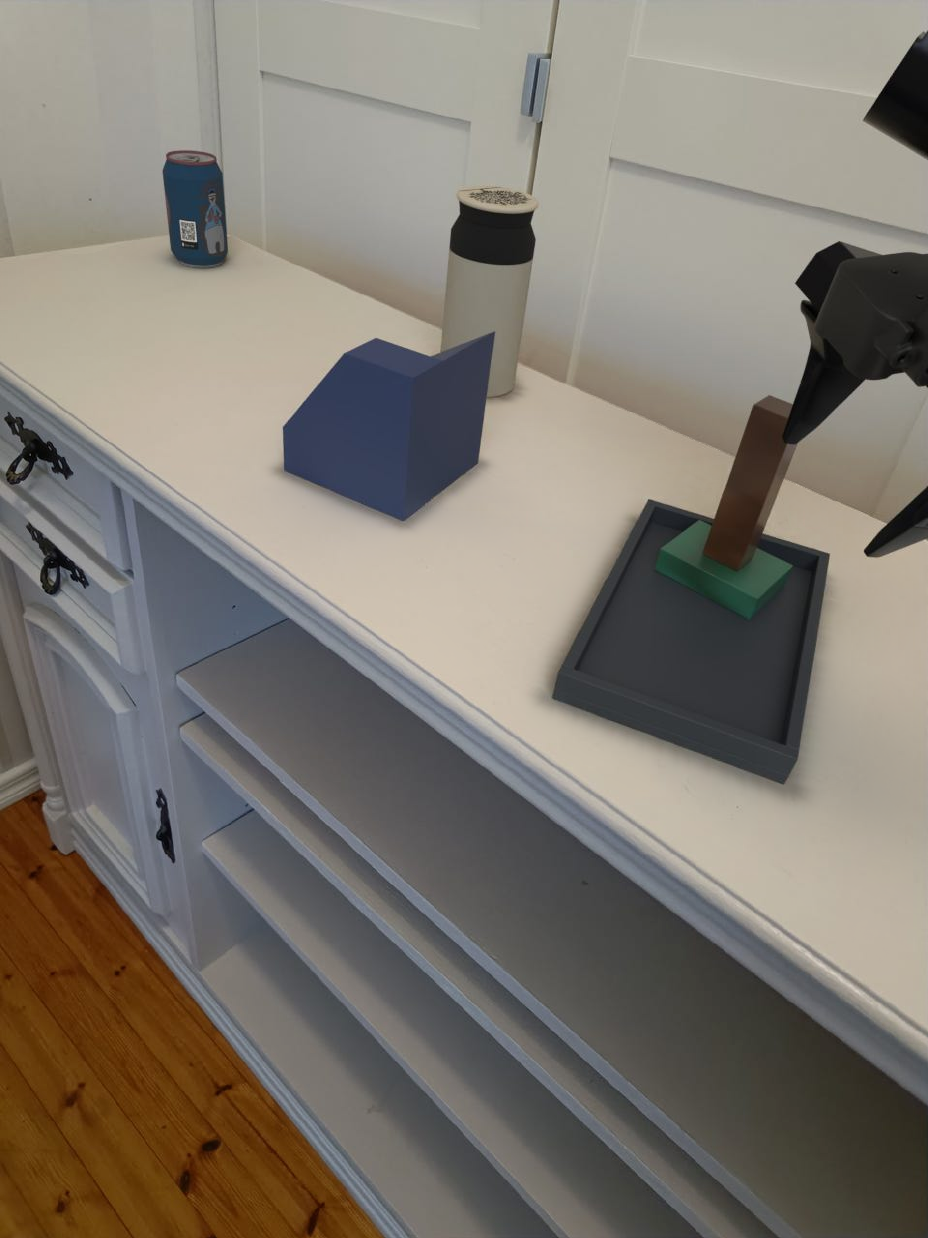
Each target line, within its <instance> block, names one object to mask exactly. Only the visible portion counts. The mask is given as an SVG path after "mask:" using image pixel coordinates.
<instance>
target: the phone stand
mask: <svg viewBox="0 0 928 1238" xmlns="http://www.w3.org/2000/svg"><path fill="white" fill-rule="evenodd" d="M494 337H495V331H494V332H492V333H489V334H486V335H484V336H481V337H479V338H476V339H474V340H471V341H469V342H466V343H463V344H461V345H458V346H456V347H453V348H451V349H448V350H445V351H443V352H438V353H435V354H432V355H427V354H424V353H422V352H418V351H417V350H416V351H415V350H413V349H410V348H407V347H404V346H401V345H399V344H395V343H393V342H389V341H386V340H384V339H381V338H378V337H374V338H373V339H370V340H368V341H366V342H364V343H362V344H360V345H358V346H355V347H354V348H352V349H350V350H348V351H346V352H344V353H343V354H341V355H342V356H340V358H339V359H337V361H336V362H335V363H334V365H333V366H331V368H330V369H329V370H328V372H327V373H326V374H325V376H323V378H322V379H321V380H320V382H319V383H318V384H317V385H316V387H315V388H314V389H313V390H312V391H311V393H309V395H308V396H307V397H306V398H305V399H304V401H303V402H302V403H301V404H300V406H299V407H298V408H297V409H296V410H295V412H294V413H293V414H292V415H291V416H290V418H289V419H288V420H287V421H286V422H285V424H284V425H283V426H282V445H283V446H282V448H283V470H284V472H287V473H289V474H291V475H294V476H297V477H299V478H301V479H304V480H306V481H309V482H310V483H313V484H315V485H317V486H320V487H322V488H325V489H327V490H329V491H332V492H334V493H336V494H339V495H341V496H344V497H346V498H348V499H351V500H352V501H354V502H358V503H360V504H363V505H365V506H367V507H369V508H372V509H374V510H376V511H379V512H381V513H384V514H385V515H388V516H390V517H392V518H395V519H397V520H400V521H402V522H404V521H406V520H407V519H408V518H409V517H411V516H412V515H414V514H415V513H416V512H417V511H418V510H420V509H421V508H423V507H424V506H425V505H426V504H427V503H429V502H430V501H431V500H433V499H435V497H436V496H438V495H439V494H440V493H441V492H443V491H444V490H446V489H447V488H448V487H449V486H451V485H452V484H454V483H455V482H456V481H457V480H459V479H460V478H461V477H463V476H464V475H465V474H466V473H467V472H469V471H470V470H472V469H473V468H474V467H475V466H477V465H478V464H479V460H480V452H481V443H482V437H483V428H484V421H485V415H486V406H487V399H488V397H487V391H488V383H489V376H490V368H491V360H492V353H493V345H494Z"/></svg>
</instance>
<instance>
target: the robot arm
mask: <svg viewBox="0 0 928 1238" xmlns="http://www.w3.org/2000/svg"><path fill="white" fill-rule="evenodd" d="M862 122H863V123H865V124H867V125H869V126H871V127H872V128H873V129H875V130H877V131H879V132H880V133H882V134H884V135H885V136H887V137H889V138H890V139H892V140H894V141H895V142H897V143H898V144H901V145H902V146H903V147H905V148H907V149H909V150H911V151H912V152H913V153H915V154H917V155H918V156H920V157H922V158H924V159H925V160H927V161H928V30H927V31H922V32H921V33H919V34H918V36H917V37H916V38H915V40H914V41H913V43H912V44H911V46H910V47H909V49H907V52H906V53H905V54H904V56H903V58H902V59H901V60H900V62H899V64H898V65H897V66H896V68H895V70H894V71H893V73H892V74H891V75H890V77H889V78H888V80H887V82H886V83H885V84H884V86H883V88H882V89H881V91H879V94H878V95H877V97H876V98H875V100H874V102H873V103H872V105H871V106H870V108H869V109H868V111H867V112H866V114H865V115H864V117H863V119H862ZM794 284H795V286H796V287H797V288H798V289H799V291H801V293H803V295H804V296H805V297H806V298H807V299H808V300H807V299H802V300H801V301H800V305H799V307H800V308H799V310H800V312H801V314H802V315H803V317H804V318H805V321H806V326H807V331H808V335H809V339H810V346H809V352H808V355H807V360H806V363H805V366H804V370H803V374H802V376H801V380H800V382H799V386H798V388H797V391H796V394H795V397H794V399H793V403H792V404H793V405H792V408H791V411H790V414H789V417H788V419H787V422H786V425H785V428H784V431H783V434H782V437H781V438H782V440H783V442H784V443H786V444H792V445H795V444H797V443H798V444H799V443H800V442H801V441H802V440H804V439H805V438H806V437H808V435H810V434H811V433H812V432H813V431H816V429H818V427H819V426H820V425H822V423H824V421H826V419H827V418H828V417H829V416H830V415H832V414H833V413H834V411H836V410H837V409H838V408H839V407H840V406H841V405H842V404H843V403H844V402H845V401H846V400H847V399H848V398H849V397H850V396H851V395H852V394H853V393H854V392H855V391H856V390H857V389H858V388H859V387H860V386H861V385H863V383H864V382H865V381H882V380H886V379H888V378H889V377H891V376H894V375H898V374H904V373H905V374H906V376H907V377H908V378H909V379H910V381H912V382H913V383H914V385H915V386H917V387H920V388H921V387H926V388H927V389H928V253H919V252H914V251H903V252H896V253H887V254H881V253H877V252H875V251H871V250H868V249H865V248H862V247H859V246H856V245H853V244H851V243H847V242H844V241H841V240H838V241H835V242H834V243H833V244H831V245H828V246H827V247H825V248H823V249H821V250H819V251H817V252H816V253H814V255H813V257H811V259H810V260H809V262H808V263H807V265H806V266H805V268H804V269H803V270H802V272H801V273H800V275H799V276H798V278H797V279H796V281H795V282H794ZM798 444H797V445H798ZM927 539H928V485H927V486H926V487H925V488H924V489H923V490H922V491H921V492H920V493H918V494H917V495H916V496H915V497H914V498H913V499H912V500H911V501H910V502H909V503H908V504H907V505H906V506H905V507H904V508H902V509H901V510H900V511H899V513H897V514H896V515H895V516H894V517H893V518H892V519H891V520H889V521H888V523H887V524H886V525H884V526H883V527H882V528H881V529H880V530H879V531H878V532H877V533H876V535H875V536H873V538H872V539H871V541H870V542H869V543H868V544H867V545H866V547H865V548H864V549H863V554H864V555H865V556H866V557H867V558H874V559H875V558H876V559H877V558H882V557H884V556H888V555H889V554H891V553H894V552H897V551H900V550H902V549H905V548H907V547H910V546H912V545H914V544H917V543H920V542H923V541H926V540H927Z"/></svg>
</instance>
